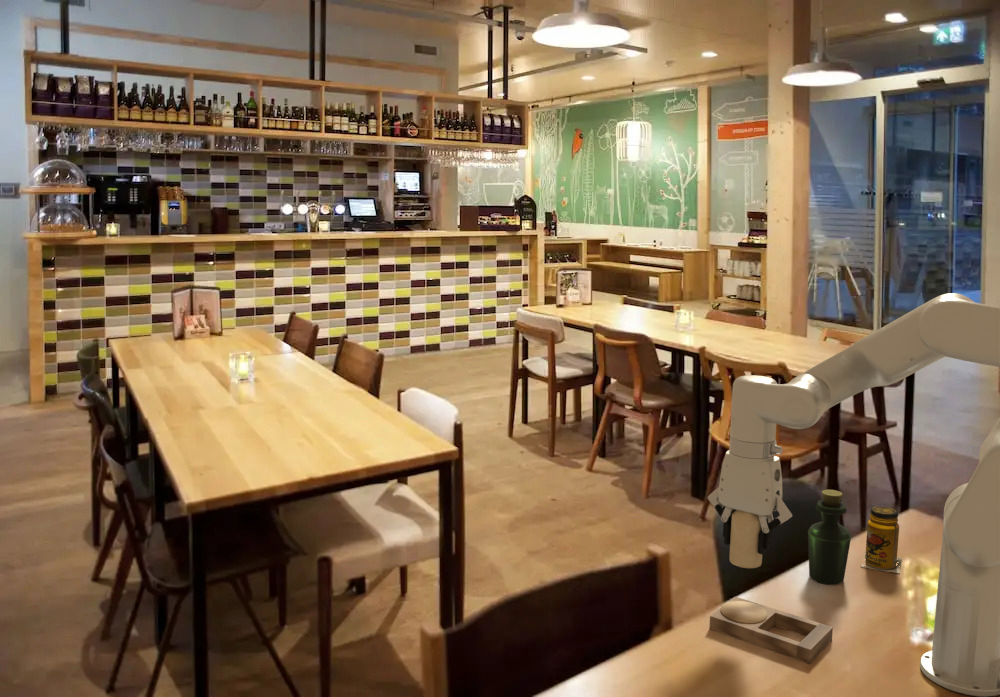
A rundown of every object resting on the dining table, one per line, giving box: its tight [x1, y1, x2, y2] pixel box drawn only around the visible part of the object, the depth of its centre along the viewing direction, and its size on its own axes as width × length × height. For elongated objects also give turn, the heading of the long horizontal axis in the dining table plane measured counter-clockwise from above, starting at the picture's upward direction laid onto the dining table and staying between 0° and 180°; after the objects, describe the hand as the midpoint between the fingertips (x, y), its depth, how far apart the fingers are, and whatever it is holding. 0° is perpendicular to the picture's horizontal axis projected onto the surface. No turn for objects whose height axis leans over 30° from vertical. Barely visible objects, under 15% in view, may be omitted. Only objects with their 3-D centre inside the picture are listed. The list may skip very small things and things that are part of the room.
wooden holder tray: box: [709, 596, 834, 665], centre depth 151 cm, size 18×10×3 cm, turn 49°
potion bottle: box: [807, 489, 852, 586], centre depth 172 cm, size 8×8×18 cm
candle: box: [729, 510, 763, 569], centre depth 151 cm, size 6×6×10 cm
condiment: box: [860, 506, 903, 574], centre depth 180 cm, size 7×8×12 cm
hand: (746, 546), depth 152 cm, fingers closed on candle, 5 cm apart
